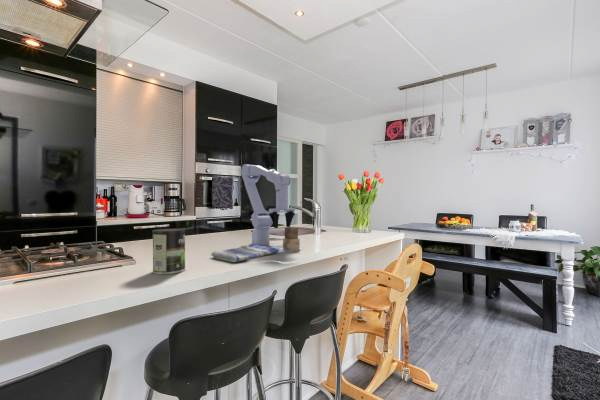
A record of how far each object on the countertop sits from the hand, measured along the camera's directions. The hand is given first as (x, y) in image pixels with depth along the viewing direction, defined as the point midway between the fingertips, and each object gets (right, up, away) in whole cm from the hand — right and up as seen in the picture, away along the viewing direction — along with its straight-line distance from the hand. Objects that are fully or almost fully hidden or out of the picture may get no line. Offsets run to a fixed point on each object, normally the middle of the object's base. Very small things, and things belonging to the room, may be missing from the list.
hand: (282, 227), depth 147 cm
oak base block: (+4, -10, -5) cm, 12 cm away
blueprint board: (-1, -10, -5) cm, 11 cm away
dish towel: (-14, -10, -19) cm, 26 cm away
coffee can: (-36, -11, -44) cm, 58 cm away
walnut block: (+4, -5, -5) cm, 8 cm away
